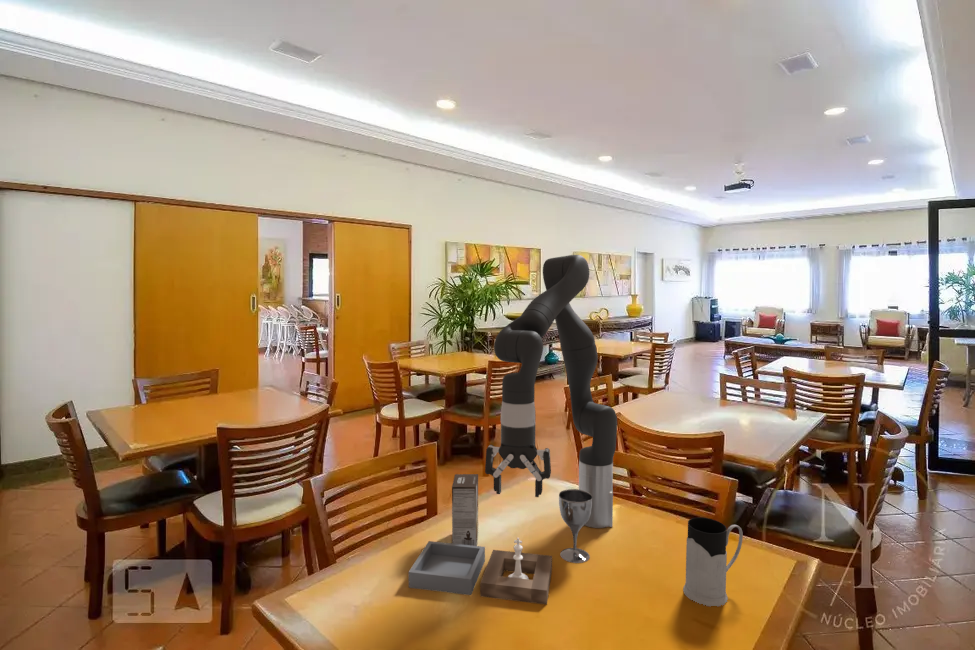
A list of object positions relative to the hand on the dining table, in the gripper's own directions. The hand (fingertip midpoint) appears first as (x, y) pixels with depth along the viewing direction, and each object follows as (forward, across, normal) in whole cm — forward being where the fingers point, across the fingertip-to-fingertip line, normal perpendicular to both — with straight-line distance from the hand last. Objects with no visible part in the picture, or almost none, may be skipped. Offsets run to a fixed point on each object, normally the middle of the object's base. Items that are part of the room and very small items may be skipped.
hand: (517, 494), depth 110 cm
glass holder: (+20, -42, -5) cm, 47 cm away
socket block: (+20, 0, 0) cm, 20 cm away
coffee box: (+20, +16, -16) cm, 30 cm away
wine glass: (+20, -12, -14) cm, 27 cm away
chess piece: (+20, 0, 0) cm, 20 cm away
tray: (+20, +16, 0) cm, 25 cm away
